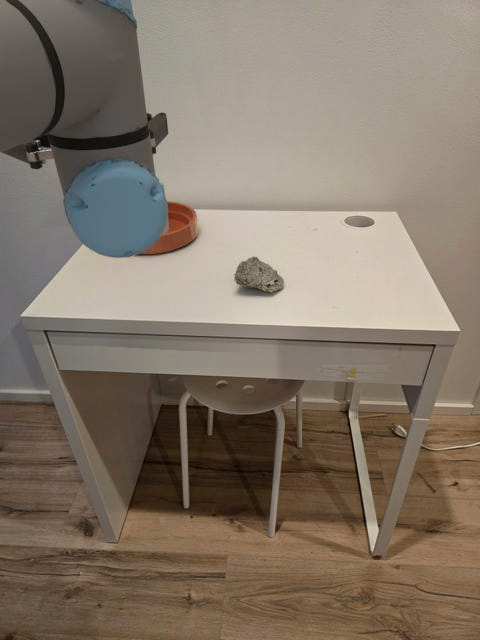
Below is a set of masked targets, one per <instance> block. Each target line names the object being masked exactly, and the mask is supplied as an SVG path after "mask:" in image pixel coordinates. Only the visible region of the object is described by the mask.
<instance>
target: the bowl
mask: <svg viewBox="0 0 480 640" xmlns="http://www.w3.org/2000/svg"><path fill="white" fill-rule="evenodd" d="M167 205H168V220H169V228H170V229H169V231H168V232H167V233H165V234H162V235H161V236H160V238H159V239H158V240H157V241H156V243H155V244H154V245H153V246H151V247H150V248H149V249H147V250H146V251H144V252H142V253H140V254H139V255H155V254H162V253H168V252H172V251H175V250H178V249H179V248H182V247H185V246H186V245H188V244H190V243H191V242H193V241H194V240H195V238H196V237H197V235H198V233H199V226H198V215H197V211H196V210H195V209H194V208H193V207H191V206H189V205H187V204H184V203H181V202H177V201H168V200H167Z"/></svg>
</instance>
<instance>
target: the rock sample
mask: <svg viewBox="0 0 480 640" xmlns="http://www.w3.org/2000/svg"><path fill="white" fill-rule="evenodd" d="M241 259H242V261H240V262H239V264H238V265H237V267H236V270H235V273H234V274H233V275H234V276H233V281H234V282H235V283H236V285H238V286H243V287H245V288H246V289H247V288H248V289H250V288H254V289H255V288H256V289H259V291H263V292H268V293H275V292H278V291H281V290H282V288H283V287H284V284H285V281H284V278H283V277H282V276H281V275H280V274H279V273H278V270H276V269H274V268H273V267H272V266H271V265H270V264H268V263H265V262H264V261H261V260H260V259H259V257H258V256H252V257H249V258H247V259H246V260H243V258H241Z"/></svg>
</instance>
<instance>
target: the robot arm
mask: <svg viewBox="0 0 480 640" xmlns="http://www.w3.org/2000/svg"><path fill="white" fill-rule="evenodd" d="M135 17H136V16H135V15H134V10H133V4H132V0H0V154H4V155H7V156H9V157H11V158H13V159H16V160H19V161H21V162H23V163H26V164H27V165H29V168H30V169H32V170H40V169H41V168H43V167H44V166H43V165H45V164H47V161H46V160H52V159H53V161H54V164H55V168H56V172H57V175H58V179H59V184H60V187H61V190H62V195H63V200H62V202H63V207H64V212H65V216H66V219H67V221H68V223H69V225H70V227H71V229H72V231H73V233H74V235H75V236H76V238H77V239H78V240H79V241H80V242H81V243H82V245H83V246H85V247H86V248H87V249H89V250H91V251H92V252H94V253H95V254H97V255H101V256H104V257H108V258H113V259H117V258H118V259H119V258H120V259H122V258H130V257H134V256H138V255H141V254H140V253H142V252H144V251H146V250H147V249H149V248H150V247H151V246H153V245H154V244H155V243H156V241H157V240H158V239H159V238H160V236H161V235H162V233H163V231H164V229H165V227H166V224H167V220H168V205H167V201H168V200H167V198H166V197H167V196H166V194H165V195H164V188H165V187H164V188H163V186H162V185H161V184H160V183H159V182H160V179H159V178H158V177H157V176H156V168H155V162H154V155H155V154H157V147H158V146H159V145H161V143H162V142H163V140H165V138H167V136H168V135H169V126H168V117H167V113H166V112H163V111H162V112H161V111H160V112H159V113H157V114H155V115H154V116H152V113H149V112H147V106H146V98H145V97H146V96H145V89H144V80H143V73H142V65H141V56H140V48H139V41H138V31H137V30H138V21H137V19H136V18H135ZM165 196H166V197H165Z"/></svg>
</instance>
